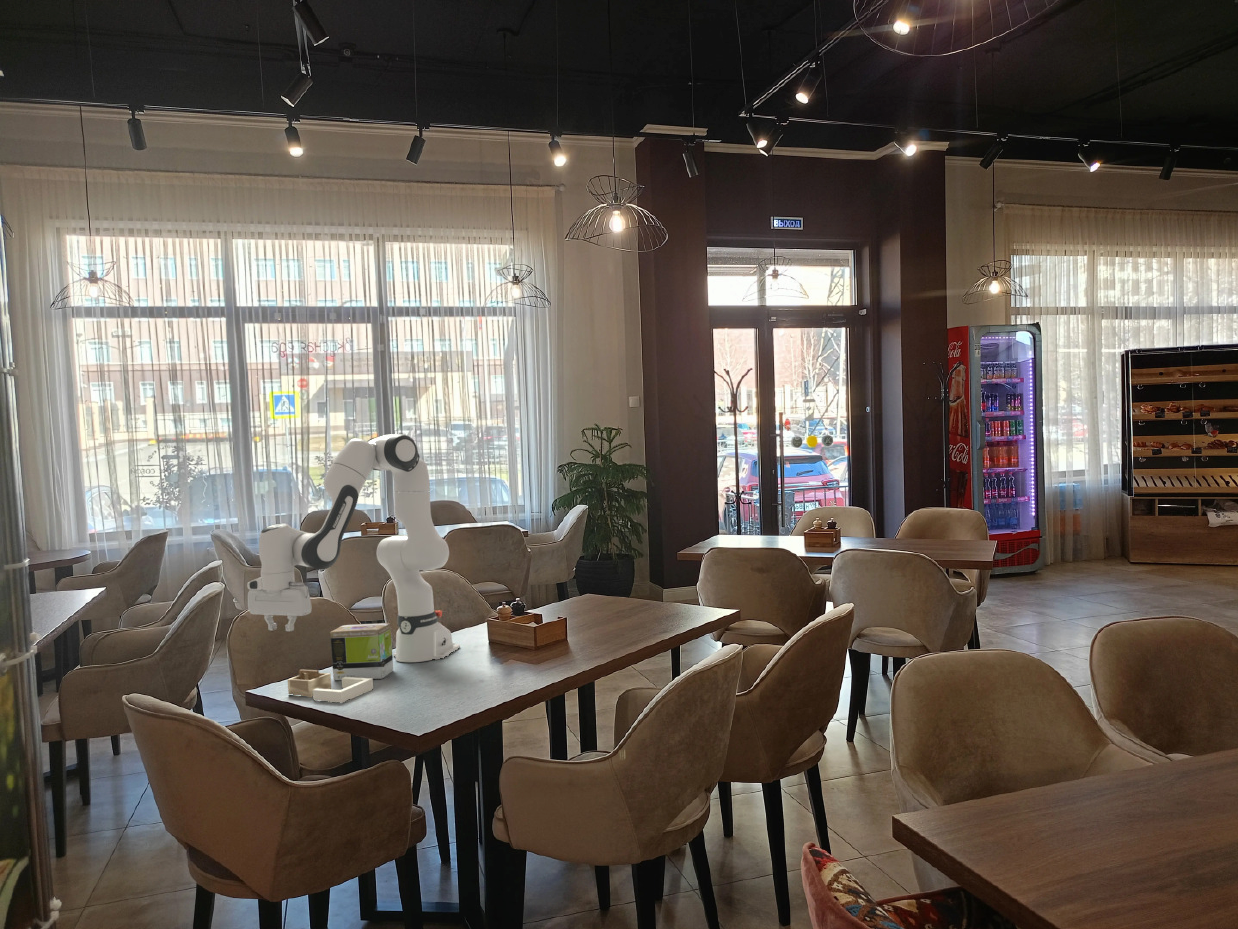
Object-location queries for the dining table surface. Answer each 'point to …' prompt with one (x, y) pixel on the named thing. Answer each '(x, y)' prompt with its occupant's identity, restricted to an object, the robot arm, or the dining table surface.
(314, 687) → the caddy
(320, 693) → the bay
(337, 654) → the tea box
